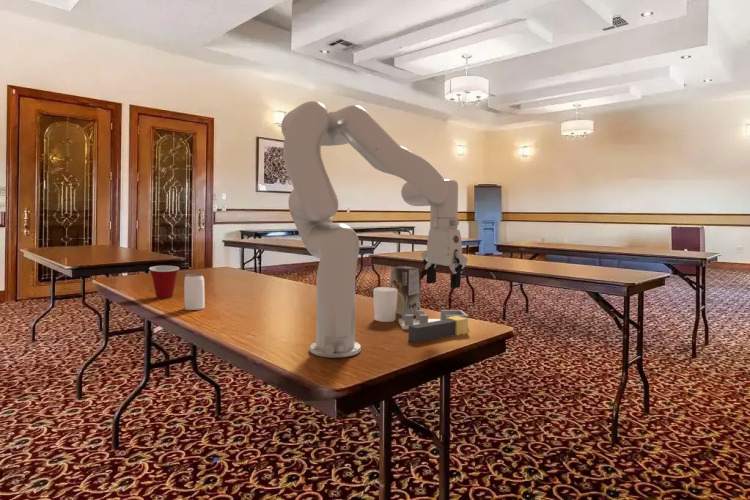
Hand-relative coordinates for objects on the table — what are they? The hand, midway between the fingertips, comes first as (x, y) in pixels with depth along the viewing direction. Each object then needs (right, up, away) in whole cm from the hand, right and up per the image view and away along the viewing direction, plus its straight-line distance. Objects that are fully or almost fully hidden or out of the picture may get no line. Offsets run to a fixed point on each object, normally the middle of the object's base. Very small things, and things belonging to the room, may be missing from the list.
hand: (442, 285), depth 127 cm
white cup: (-16, -13, +20) cm, 28 cm away
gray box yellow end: (-1, -14, 0) cm, 15 cm away
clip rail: (-1, -13, +13) cm, 19 cm away
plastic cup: (-102, -9, +51) cm, 114 cm away
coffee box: (-9, -12, +29) cm, 33 cm away
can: (-82, -11, +31) cm, 88 cm away
